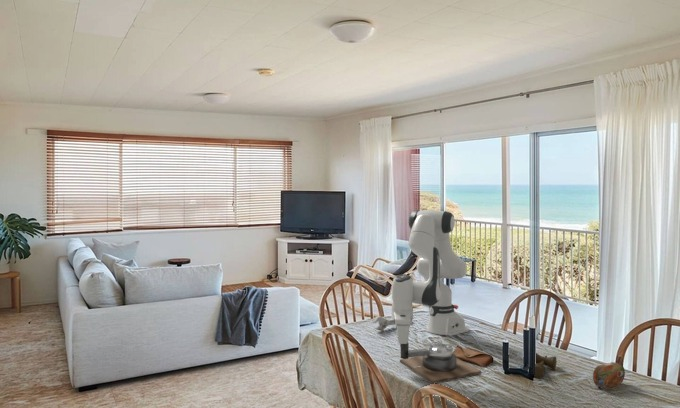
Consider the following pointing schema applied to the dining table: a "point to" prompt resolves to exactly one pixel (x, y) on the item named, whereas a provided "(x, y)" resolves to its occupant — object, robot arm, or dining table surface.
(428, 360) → the square wooden board
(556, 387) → the dining table surface
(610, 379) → the mottled orange oval
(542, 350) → the dining table surface
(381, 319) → the wrench
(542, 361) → the kendama
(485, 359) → the sunglasses case
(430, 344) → the grey crank handle
